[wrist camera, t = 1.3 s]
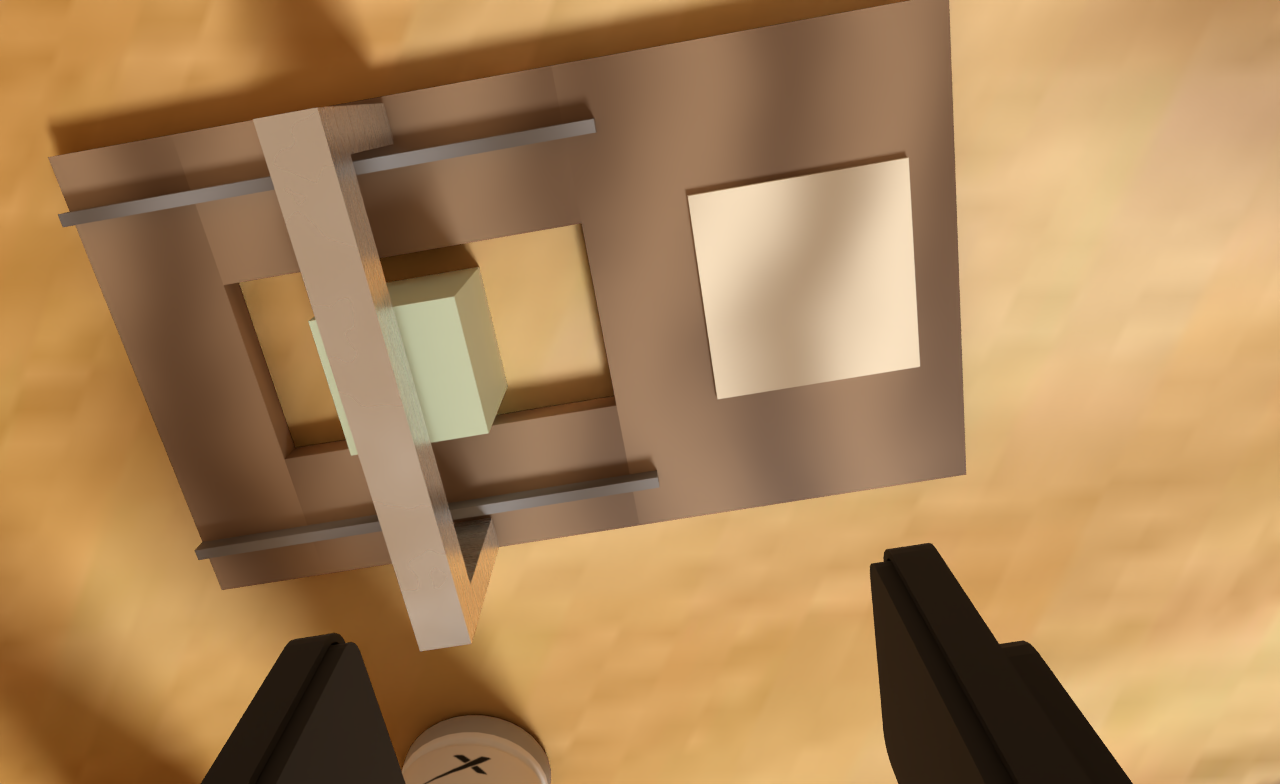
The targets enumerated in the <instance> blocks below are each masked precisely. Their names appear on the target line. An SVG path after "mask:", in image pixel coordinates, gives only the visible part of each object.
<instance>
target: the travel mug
mask: <svg viewBox="0 0 1280 784" xmlns="http://www.w3.org/2000/svg"><path fill="white" fill-rule="evenodd" d="M401 772H402V774H403V777H404V780H405V783H406V784H551V769H550V765H549V761H548V758H547V756H546V754H545V752H544V751H543V749H542V747H541V746H540V745H539V744H538V743H537V741H536V740H535V739H534V738H533V737H532V736H531V735H530V734H528V733H527V732H526V731H525V730H523V729H522V728H520V727H518V726H516V725H514V724H513V723H511V722H508V721H505V720H502V719H499V718H496V717H490V716H484V715H466V716H459V717H453V718H450V719H447V720H444V721H441V722H439V723H437V724H436V725H434V726H432V727H430V728H428V729H427V730H426V731H425V732H423V733H422V734H421V735H420V736H419V737H418V738H417V739H416V740H415V742H414V743H413V744H412V746H411V747H410V749H409V752H408V754H407V756H406V759H405V762H404V765H403V768H402V771H401Z"/></svg>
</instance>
